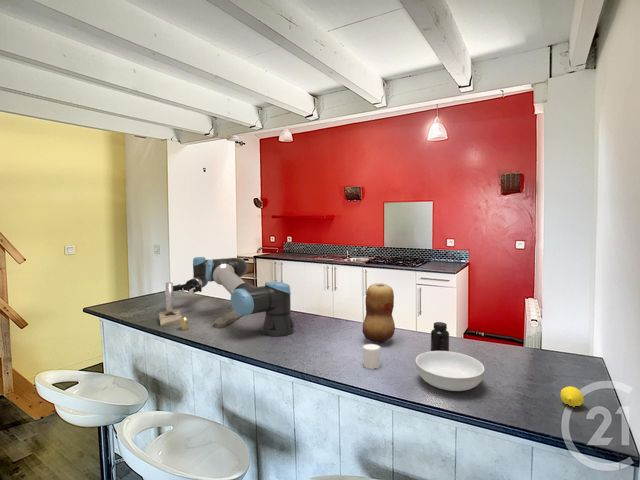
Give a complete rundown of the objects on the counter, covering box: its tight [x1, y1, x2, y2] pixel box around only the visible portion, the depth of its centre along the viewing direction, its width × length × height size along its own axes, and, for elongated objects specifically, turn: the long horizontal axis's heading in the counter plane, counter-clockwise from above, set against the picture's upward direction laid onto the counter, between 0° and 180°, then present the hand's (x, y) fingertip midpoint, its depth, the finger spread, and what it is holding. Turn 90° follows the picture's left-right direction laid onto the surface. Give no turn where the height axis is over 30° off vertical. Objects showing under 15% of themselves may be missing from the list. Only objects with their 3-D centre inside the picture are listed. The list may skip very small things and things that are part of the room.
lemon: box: [560, 385, 585, 408], centre depth 102 cm, size 7×5×5 cm
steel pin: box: [165, 281, 175, 316], centre depth 189 cm, size 4×4×20 cm
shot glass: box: [361, 343, 382, 370], centre depth 131 cm, size 7×7×7 cm
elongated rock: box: [212, 304, 244, 329], centre depth 194 cm, size 35×5×10 cm
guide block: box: [158, 309, 183, 327], centre depth 190 cm, size 14×10×4 cm
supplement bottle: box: [430, 321, 450, 351], centre depth 141 cm, size 7×7×12 cm
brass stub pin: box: [180, 315, 189, 332], centre depth 175 cm, size 4×4×6 cm
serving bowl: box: [414, 350, 486, 392], centre depth 117 cm, size 21×21×7 cm
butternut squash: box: [362, 282, 396, 344], centre depth 155 cm, size 14×13×25 cm
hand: (177, 292), depth 199 cm, fingers open, 13 cm apart
